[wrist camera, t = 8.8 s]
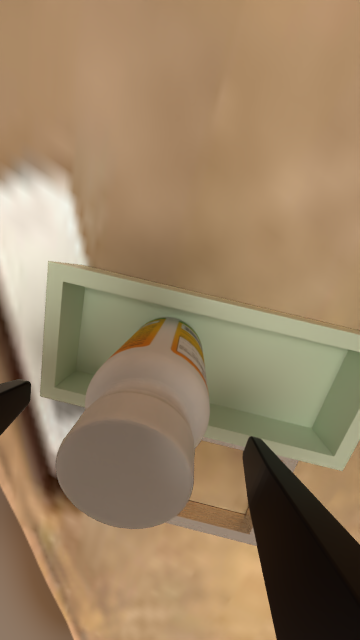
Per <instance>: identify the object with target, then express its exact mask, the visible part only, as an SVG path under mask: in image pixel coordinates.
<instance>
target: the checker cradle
mask: <svg viewBox="0 0 360 640" xmlns="http://www.w3.org/2000/svg"><path fill="white" fill-rule="evenodd" d="M202 440H203V441H207V442H211V443H215V444H219V445H223V446H227V447H231V448H235V449H239V450H243V451H244V448H245V447H243V446H239V445H235V444H231V443H227V442H223V441H219V440H215V439H210V438H206V437H203V438H202ZM277 456H278V457H279V459H280V460H281V461H282V462H283V463H284V464H285V465H286V466H287V467H288V468H289V469H290V470H291V471H292V472H293V471H294V469H295V467H296V465H297V463H298V461H299V460H295V459H291V458H287V457H283V456H279V455H277ZM165 523H169V524H173V525H177V526H181V527H185V528H189V529H193V530H196V531H200V532H204V533H208V534H212V535H216V536H220V537H224V538H228V539H232V540H236V541H240V542H243V543H247V544H251V545H255V546H257V544H256V539H255V534H254V529H253V525H252V520H251V515H250V510H249V507H248V510H247V512H246V514H245V515H244V514H240V513H236V512H232V511H228V510H224V509H220V508H216V507H212V506H208V505H204V504H200V503H196V502H192V501H188V502H187V504H186V506H185V507H184V508H183V510H182V511H181V512H180V513H179V514H178V515H176V516H175V517H174V518H172V519H171V520H169V521H167V522H165Z"/></svg>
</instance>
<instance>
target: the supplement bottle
mask: <svg viewBox="0 0 360 640" xmlns="http://www.w3.org/2000/svg"><path fill="white" fill-rule="evenodd" d="M209 416H210V405H209V393H208V386H207V379H206V371H205V363H204V356H203V349H202V344H201V341H200V339H199V336H198V335H197V333H196V332H195V330H194V329H193V328H192V327H191V326H190V325H188V324H187V323H186V322H184V321H182V320H179V319H176V318H172V317H161V318H156V319H153V320H151V321H149V322H147V323H146V324H144V325H143V326H142V327H141V328H140V329H139V330H138V331H137V332H136V333H135V334H134V335H133V336H132V337H131V338H130V339H129V340H127V341H126V342H125V343H124V344H123V345H122V346H121V347H120V348H119V349H118V350H117V351H116V352H115V353H114V354H113V355H112V356H111V357H110V358H109V359H108V360H107V361H106V362H105V363H104V364H103V365H102V366H101V367H100V368H99V370H98V371H97V372H96V373H95V375H94V376H93V378H92V380H91V382H90V384H89V386H88V389H87V392H86V398H85V411H84V413H83V414H82V415H81V417H80V418H79V420H78V421H77V422H76V424H75V425H74V426H73V428H72V429H71V430H70V432H69V433H68V434H67V436H66V437H65V438H64V440H63V442H62V444H61V446H60V448H59V451H58V454H57V458H56V474H57V478H58V481H59V484H60V486H61V488H62V490H63V492H64V493H65V495H66V496H67V497H68V499H69V500H70V501H71V502H72V503H73V504H74V506H76V507H77V508H78V509H79V510H81V511H82V512H84V513H85V514H86V515H88V516H90V517H91V518H93V519H95V520H97V521H99V522H102V523H104V524H107V525H110V526H114V527H119V528H128V529H143V528H149V527H154V526H157V525H160V524H163V523H165V522H167V521H169V520H171V519H172V518H174V517H175V516H176V515H178V514H179V513H180V512H181V511H182V510H183V508H184V507H185V506H186V504H187V502H188V500H189V498H190V496H191V493H192V489H193V483H194V455H195V448H196V447H197V446H198V444H199V443H200V442H201V440H202V438H203V437H204V434H205V432H206V430H207V427H208V423H209Z"/></svg>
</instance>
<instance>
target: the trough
mask: <svg viewBox="0 0 360 640" xmlns="http://www.w3.org/2000/svg"><path fill="white" fill-rule="evenodd" d="M161 317H172V318H176V319H179V320H182V321H184V322H186V323H187V324H188V325H190V326H191V327H192V328H193V329H194V330H195V332H196V333H197V335H198V336H199V339H200V341H201V344H202V349H203V356H204V363H205V371H206V379H207V386H208V393H209V405H210V416H209V423H208V427H207V430H206V432H205V434H204V437H206V438H210V439H215V440H219V441H223V442H227V443H231V444H235V445H239V446H243V447H245V446H246V443H247V441H248V438H249V437H250V436H253V437H257V438H260V439H262V440H263V441H264V442H265V443H266V445H267V446H268V447H269V448H270V449H271V450H272V451H273V452H274V453H275V454H276V455H279V456H283V457H287V458H291V459H295V460H299V461H303V462H307V463H311V464H315V465H319V466H324V467H328V468H332V469H336V470H340V471H343V469H344V467H345V466H346V464H347V462H348V460H349V458H350V457H351V455H352V453H353V451H354V449H355V448H356V446H357V444H358V442H359V440H360V331H359V330H355V329H351V328H346V327H342V326H338V325H334V324H329V323H325V322H321V321H317V320H313V319H308V318H304V317H300V316H296V315H291V314H287V313H283V312H279V311H275V310H270V309H266V308H262V307H258V306H253V305H249V304H245V303H241V302H236V301H232V300H228V299H224V298H220V297H215V296H211V295H207V294H203V293H198V292H194V291H190V290H186V289H181V288H177V287H173V286H169V285H165V284H160V283H156V282H152V281H148V280H143V279H139V278H135V277H131V276H127V275H122V274H118V273H114V272H110V271H105V270H101V269H97V268H93V267H88V266H84V265H78V264H69V263H61V262H52V261H48V273H47V289H46V305H45V322H44V338H43V355H42V371H41V387H40V396H41V397H45V398H49V399H53V400H57V401H61V402H65V403H69V404H73V405H77V406H81V407H85V398H86V392H87V389H88V386H89V384H90V382H91V380H92V378H93V376H94V375H95V373H96V372H97V371H98V370H99V368H100V367H101V366H102V365H103V364H104V363H105V362H106V361H107V360H108V359H109V358H110V357H111V356H112V355H113V354H114V353H115V352H116V351H117V350H118V349H119V348H120V347H121V346H122V345H123V344H124V343H125V342H126V341H127V340H129V339H130V338H131V337H132V336H133V335H134V334H135V333H136V332H137V331H138V330H139V329H140V328H141V327H142V326H143V325H144V324H146V323H147V322H149V321H151V320H153V319H156V318H161Z"/></svg>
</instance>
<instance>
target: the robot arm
mask: <svg viewBox="0 0 360 640" xmlns="http://www.w3.org/2000/svg"><path fill="white" fill-rule="evenodd" d="M30 395H31V383H30V382H29V381H25V380H20V379H18V380H14V381H10V382H6V383H2V384H0V435H1V434H2V433H3V432H4V431H5V430H6V429H7V427H8V426H9V425H10V424H11V423H12V422H13V421H14V420H15V419H16V417H17V416H18V415H19V414H20V413H21V412H22V411H23V410H24V409H25V407H26V406H27V405H28V403H29V402H30ZM243 465H244V473H245V481H246V489H247V497H248V504H249V510H250V515H251V520H252V525H253V529H254V534H255V539H256V544H257V548H258V553H259V558H260V563H261V567H262V572H263V577H264V581H265V586H266V591H267V596H268V600H269V605H270V610H271V614H272V619H273V624H274V629H275V633H276V638H277V640H360V544H359V543H358V542H357V541H356V540H355V539H354V538H353V537H352V536H351V535H350V534H349V533H348V532H347V530H346V529H345V528H344V527H343V526H342V525H341V524H340V523H339V522H338V521H337V520H336V519H335V518H334V516H333V515H332V514H331V513H330V512H329V511H328V510H327V509H326V508H325V507H324V506H323V505H322V504H321V503H320V501H319V500H318V499H317V498H316V497H315V496H314V495H313V494H312V493H311V492H310V491H309V490H308V489H307V487H306V486H305V485H304V484H303V483H302V482H301V481H300V480H299V479H298V478H297V477H296V476H295V475H294V474H293V472H292V471H291V470H290V469H289V468H288V467H287V466H286V465H285V464H284V463H283V462H282V461H281V460H280V459H279V457H278V456H277V455H276V454H275V453H274V452H273V451H272V450H271V449H270V448H269V447H268V446H267V445H266V443H265V442H264V441H263V440H262V439H260V438H257V437H253V436H250V437H249V438H248V441H247V443H246V446H245V448H244V451H243Z"/></svg>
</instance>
